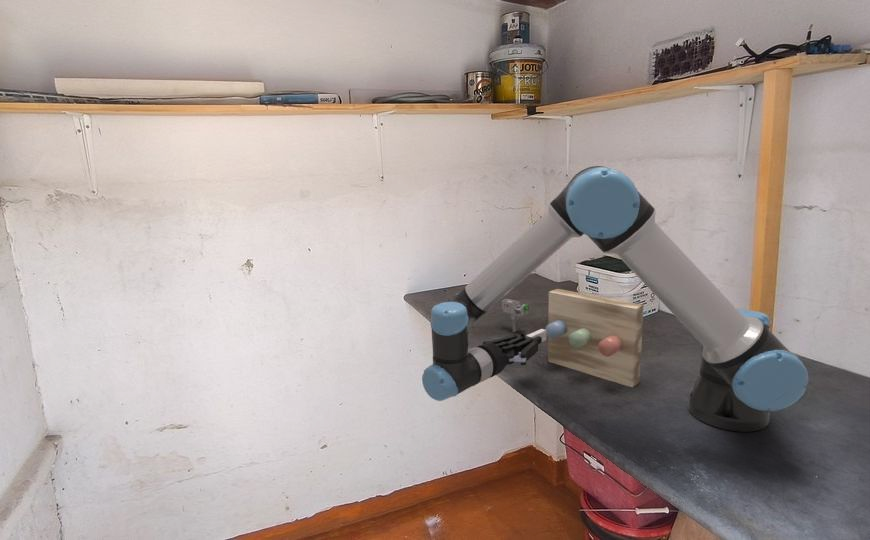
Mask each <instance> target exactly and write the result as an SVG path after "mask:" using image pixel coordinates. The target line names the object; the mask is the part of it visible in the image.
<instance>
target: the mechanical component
mask: <svg viewBox="0 0 870 540" xmlns="http://www.w3.org/2000/svg"><path fill="white" fill-rule="evenodd" d="M500 304H501V308H502V311H503V312H504V313H507V314H510V319H511V320H512V326H511V327H512V333H516V332H518V319H520V317H522V316H525V315H527V314H528V313H529V309H530V306H529V305H528V304H527V303H524V304H520V301H519V300H514V299H510V298H505V299H501V300H500Z"/></svg>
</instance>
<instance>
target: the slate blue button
mask: <svg viewBox="0 0 870 540" xmlns="http://www.w3.org/2000/svg"><path fill="white" fill-rule="evenodd" d="M544 330H546V337H547V338H548V337H550V338H552V339H555V338H557V337H559V336H561V335H563V334H565V333H566V332H567V326H566V324H565V323H564V322H563V321H562V320H557V321H555V322H553V323H550V324H547V325H546V326H545V329H544Z"/></svg>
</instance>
